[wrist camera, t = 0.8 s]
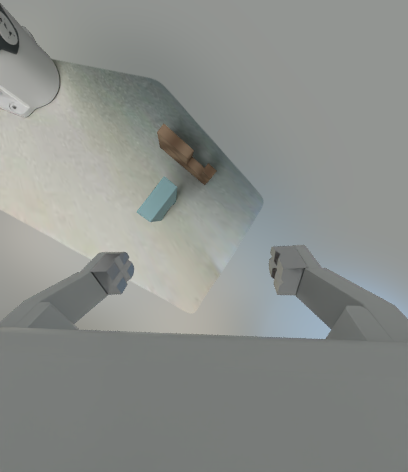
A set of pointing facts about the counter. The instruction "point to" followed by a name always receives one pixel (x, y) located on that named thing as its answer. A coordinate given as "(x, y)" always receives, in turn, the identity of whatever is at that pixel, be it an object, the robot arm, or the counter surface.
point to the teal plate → (159, 201)
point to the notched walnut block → (183, 154)
